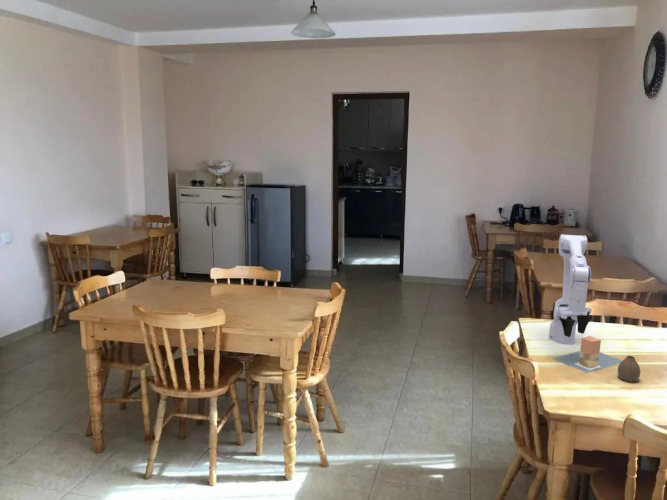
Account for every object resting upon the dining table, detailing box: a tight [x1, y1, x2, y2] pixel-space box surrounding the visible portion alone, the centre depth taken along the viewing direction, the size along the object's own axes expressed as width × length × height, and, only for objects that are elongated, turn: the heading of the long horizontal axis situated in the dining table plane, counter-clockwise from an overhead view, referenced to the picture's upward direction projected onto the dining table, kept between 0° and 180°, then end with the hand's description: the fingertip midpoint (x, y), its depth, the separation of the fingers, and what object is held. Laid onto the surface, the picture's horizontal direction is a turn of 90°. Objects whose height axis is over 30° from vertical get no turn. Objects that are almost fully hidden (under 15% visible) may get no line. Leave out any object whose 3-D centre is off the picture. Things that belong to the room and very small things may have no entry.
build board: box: [551, 350, 624, 374], centre depth 210 cm, size 15×22×1 cm
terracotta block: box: [579, 335, 602, 355], centre depth 203 cm, size 4×4×5 cm
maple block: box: [579, 350, 599, 368], centre depth 204 cm, size 4×4×5 cm
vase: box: [617, 355, 641, 383], centre depth 193 cm, size 7×7×9 cm
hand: (574, 334), depth 208 cm, fingers open, 7 cm apart
